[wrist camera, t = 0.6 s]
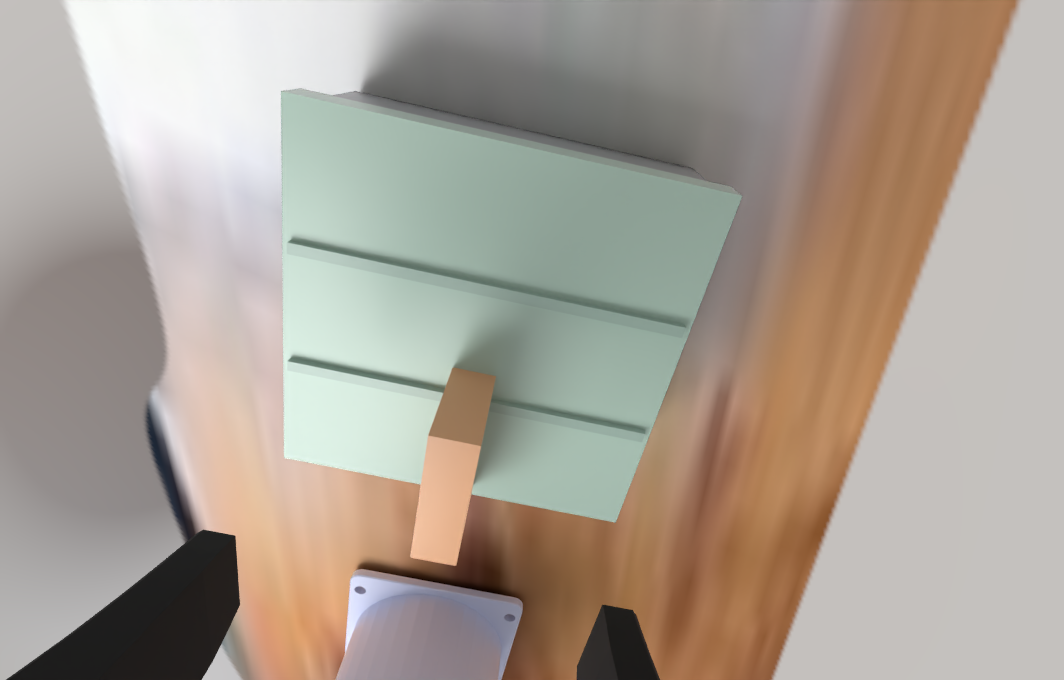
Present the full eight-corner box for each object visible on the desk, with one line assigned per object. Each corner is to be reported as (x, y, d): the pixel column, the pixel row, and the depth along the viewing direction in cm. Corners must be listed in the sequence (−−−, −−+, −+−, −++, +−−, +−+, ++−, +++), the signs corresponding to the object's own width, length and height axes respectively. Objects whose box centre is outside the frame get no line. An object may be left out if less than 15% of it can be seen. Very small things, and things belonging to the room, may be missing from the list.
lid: (611, 482, 19) (624, 608, 14) (308, 422, 18) (230, 534, 14) (722, 179, 14) (791, 235, 10) (314, 86, 13) (198, 102, 9)
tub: (603, 434, 21) (608, 493, 18) (341, 380, 20) (304, 433, 17) (692, 168, 16) (719, 193, 13) (355, 90, 16) (309, 99, 13)
